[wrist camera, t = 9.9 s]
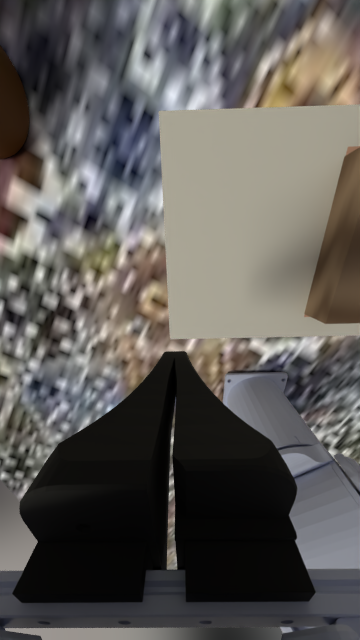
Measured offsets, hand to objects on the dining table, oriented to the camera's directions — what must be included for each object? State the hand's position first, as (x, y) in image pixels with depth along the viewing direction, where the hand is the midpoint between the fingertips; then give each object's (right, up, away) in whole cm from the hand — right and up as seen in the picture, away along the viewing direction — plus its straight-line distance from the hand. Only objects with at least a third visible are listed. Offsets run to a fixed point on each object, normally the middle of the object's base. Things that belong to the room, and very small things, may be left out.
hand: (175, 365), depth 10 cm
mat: (+16, +10, +7) cm, 20 cm away
